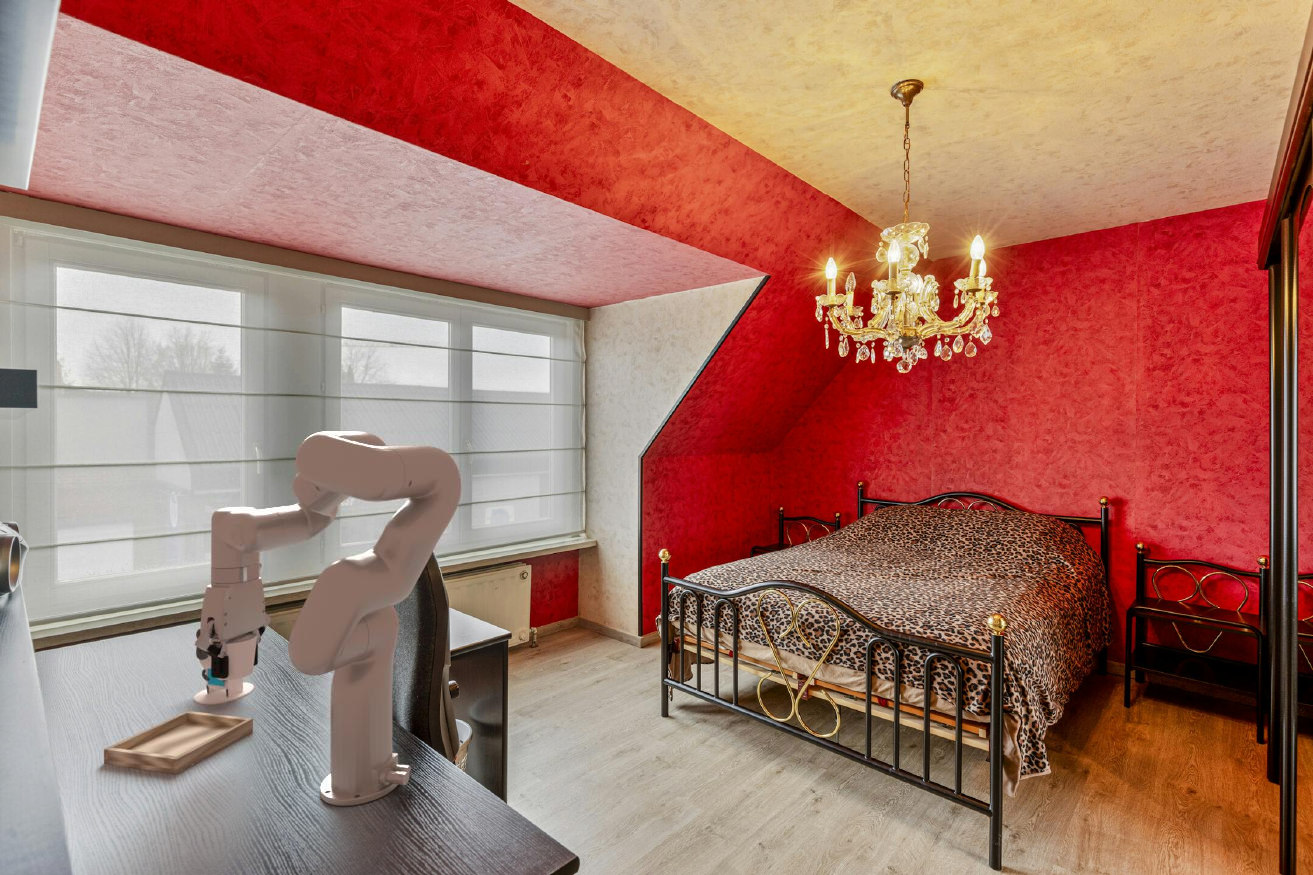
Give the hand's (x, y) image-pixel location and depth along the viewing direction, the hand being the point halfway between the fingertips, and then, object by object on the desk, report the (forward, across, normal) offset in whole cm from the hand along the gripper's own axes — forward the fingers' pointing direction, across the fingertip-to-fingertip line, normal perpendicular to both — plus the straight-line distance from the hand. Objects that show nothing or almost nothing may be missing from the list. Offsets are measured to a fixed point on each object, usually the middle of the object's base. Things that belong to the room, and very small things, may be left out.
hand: (235, 669), depth 117 cm
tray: (+16, 0, -12) cm, 20 cm away
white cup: (+1, 0, 0) cm, 1 cm away
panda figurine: (+16, -22, -26) cm, 38 cm away
